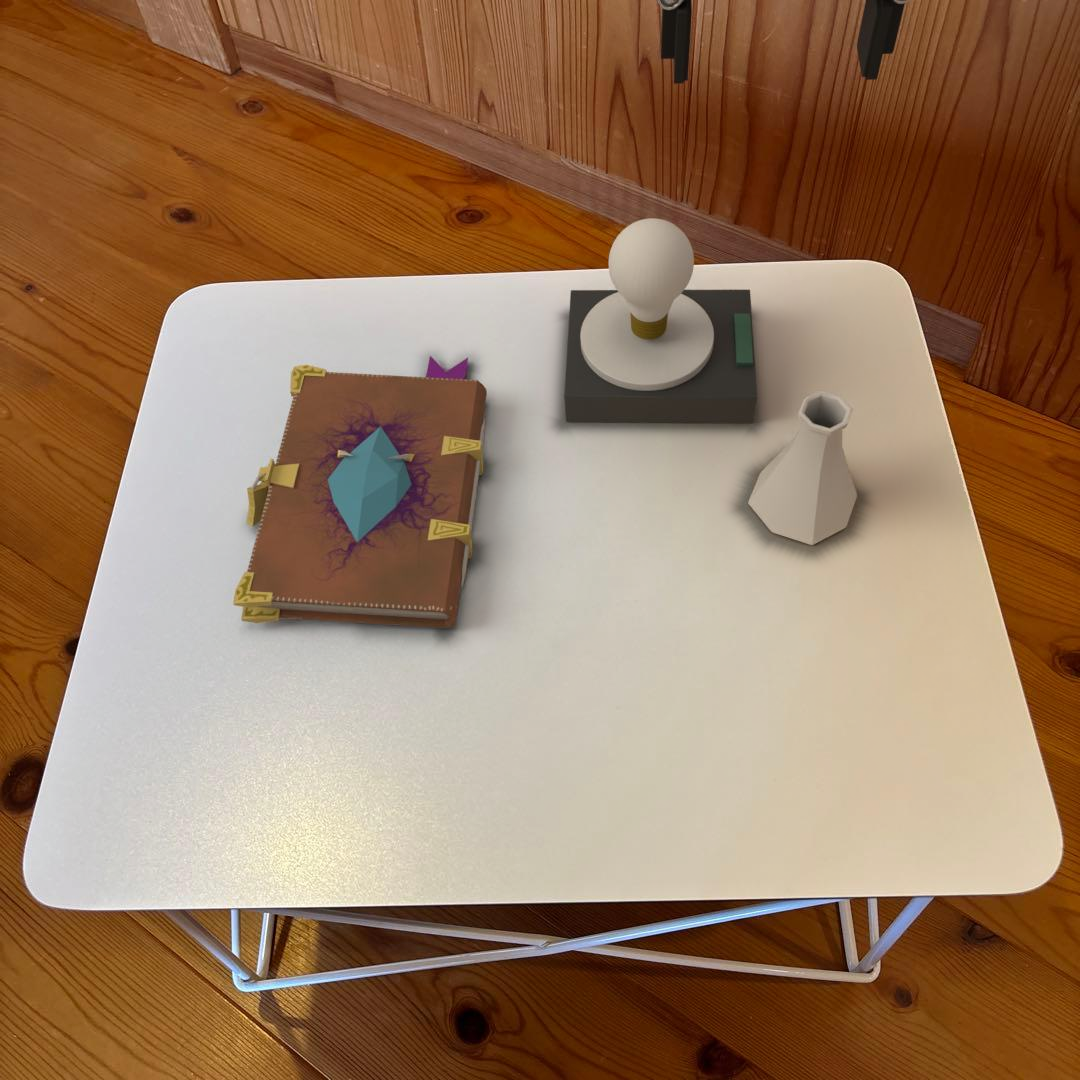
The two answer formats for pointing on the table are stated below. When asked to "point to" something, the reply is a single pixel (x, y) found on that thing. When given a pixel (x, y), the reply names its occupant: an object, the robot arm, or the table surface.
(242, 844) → the table surface
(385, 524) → the book
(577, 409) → the scale
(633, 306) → the light bulb
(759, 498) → the flask
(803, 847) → the table surface
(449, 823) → the table surface
